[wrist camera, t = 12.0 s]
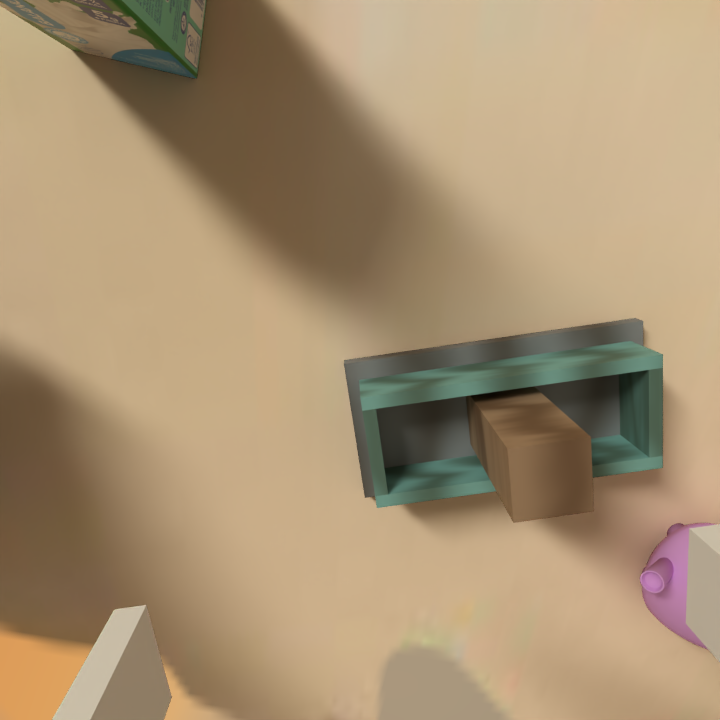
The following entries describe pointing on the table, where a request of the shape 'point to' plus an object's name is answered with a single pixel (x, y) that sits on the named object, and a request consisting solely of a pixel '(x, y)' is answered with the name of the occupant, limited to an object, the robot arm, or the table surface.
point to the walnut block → (531, 453)
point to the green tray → (498, 373)
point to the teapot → (670, 581)
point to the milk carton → (123, 29)
